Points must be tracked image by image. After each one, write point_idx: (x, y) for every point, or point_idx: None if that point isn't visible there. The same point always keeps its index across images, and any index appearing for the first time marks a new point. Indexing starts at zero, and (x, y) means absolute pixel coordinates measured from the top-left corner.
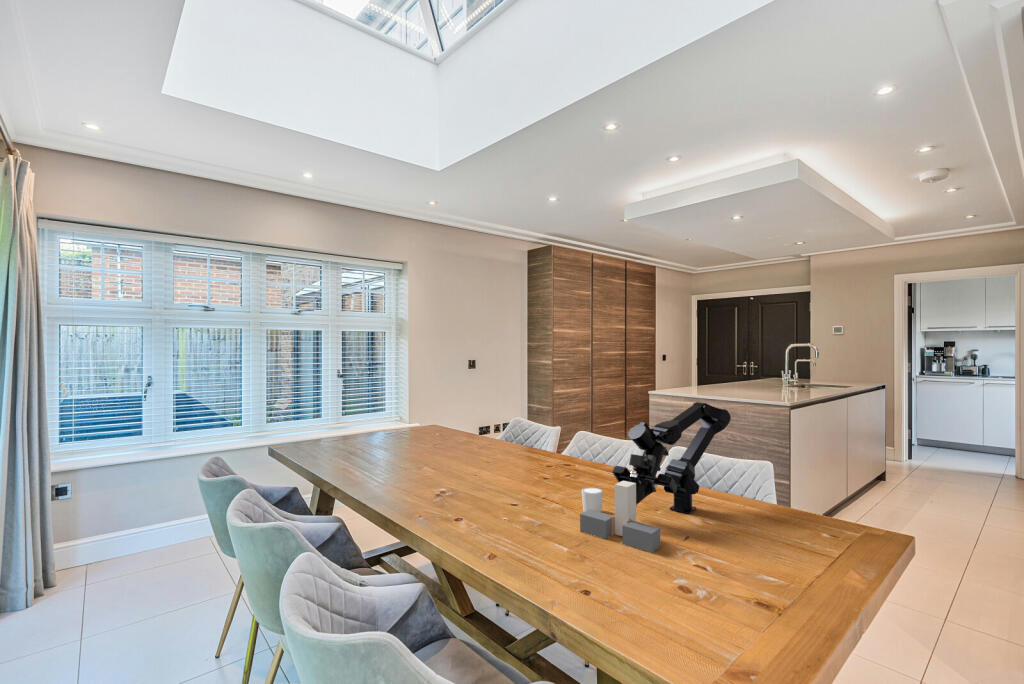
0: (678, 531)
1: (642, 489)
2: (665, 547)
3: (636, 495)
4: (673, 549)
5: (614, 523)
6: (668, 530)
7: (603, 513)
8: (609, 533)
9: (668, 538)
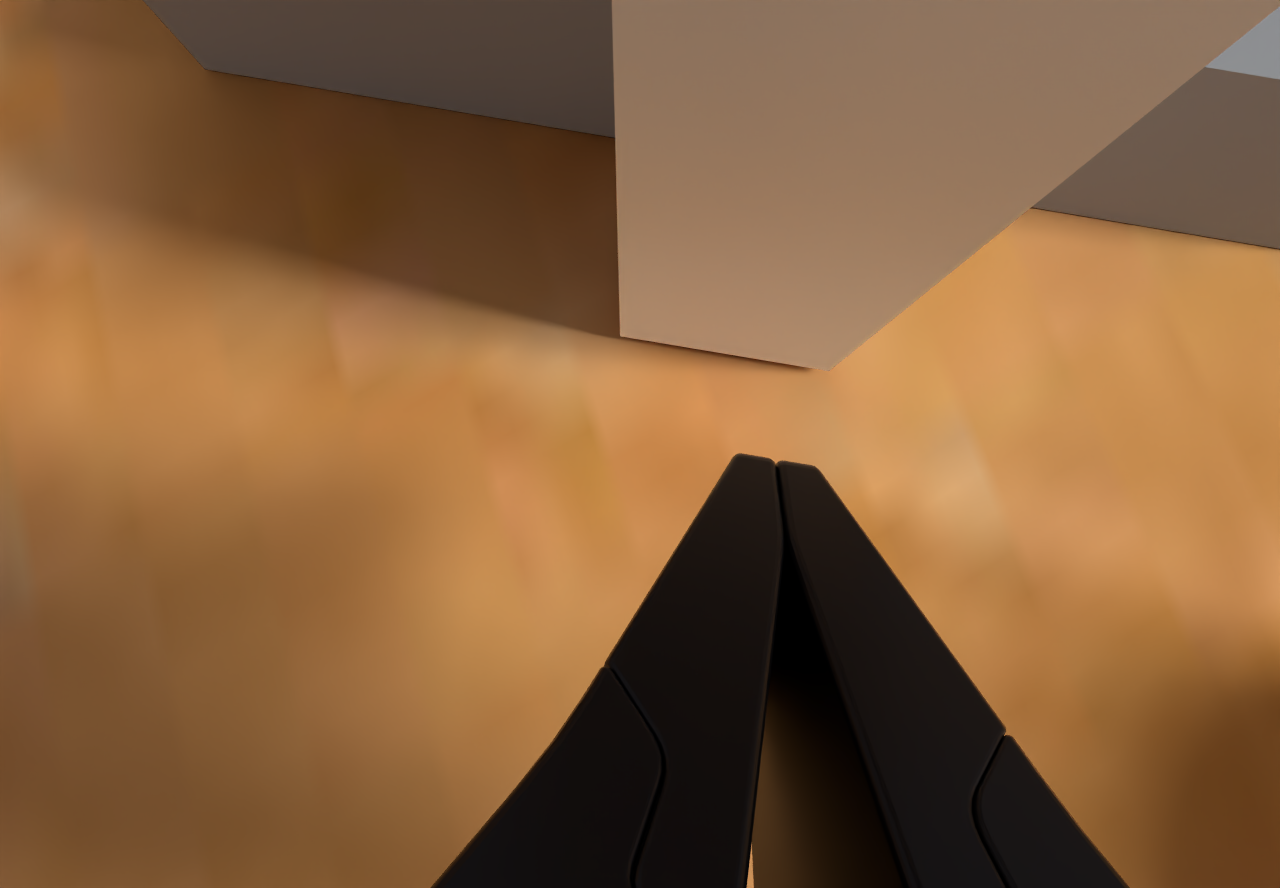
0: (81, 767)
1: (557, 802)
2: (144, 90)
3: (799, 674)
4: (36, 80)
5: None
6: (229, 725)
7: (1245, 57)
8: None
9: (167, 410)
